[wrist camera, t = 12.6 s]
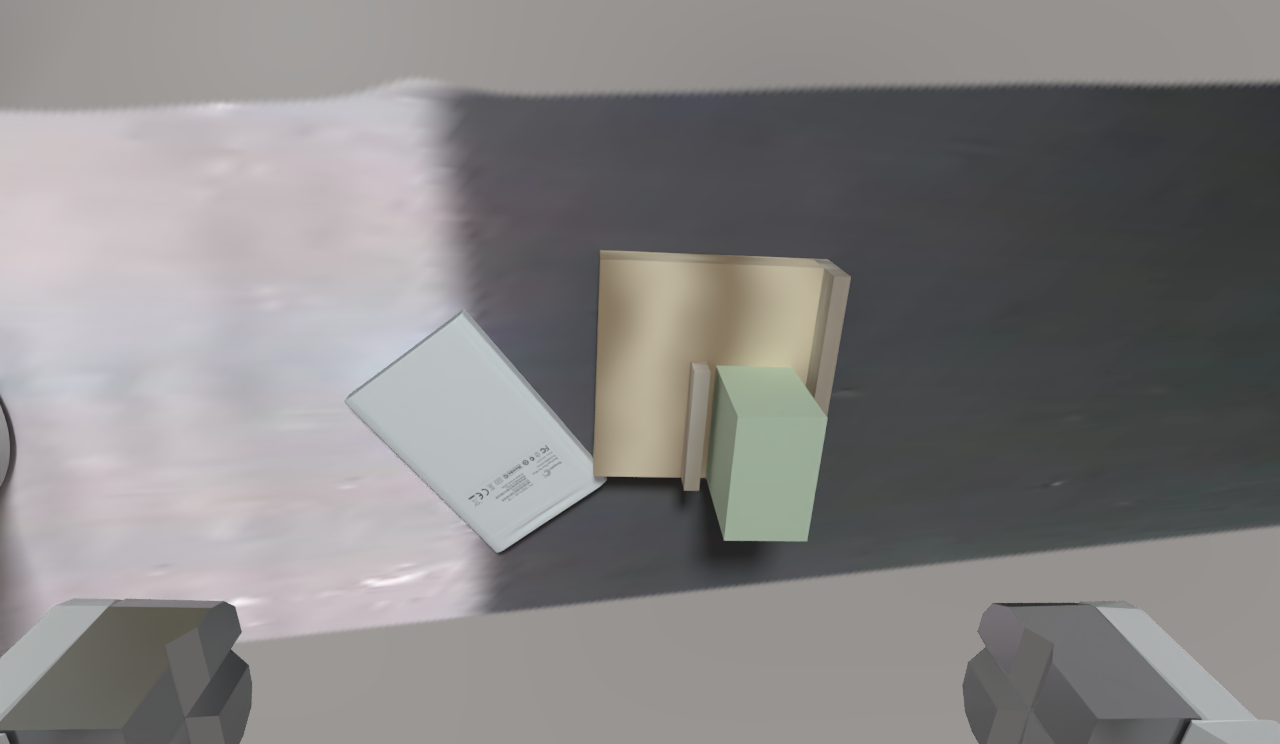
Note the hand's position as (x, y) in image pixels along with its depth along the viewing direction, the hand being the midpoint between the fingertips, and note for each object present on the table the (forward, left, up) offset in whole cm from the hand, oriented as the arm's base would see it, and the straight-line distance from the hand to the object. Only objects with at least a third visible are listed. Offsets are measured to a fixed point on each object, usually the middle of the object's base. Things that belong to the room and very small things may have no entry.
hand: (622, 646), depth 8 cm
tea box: (+8, -10, -27) cm, 30 cm away
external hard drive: (-6, -13, -30) cm, 33 cm away
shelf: (+5, -8, -29) cm, 31 cm away
